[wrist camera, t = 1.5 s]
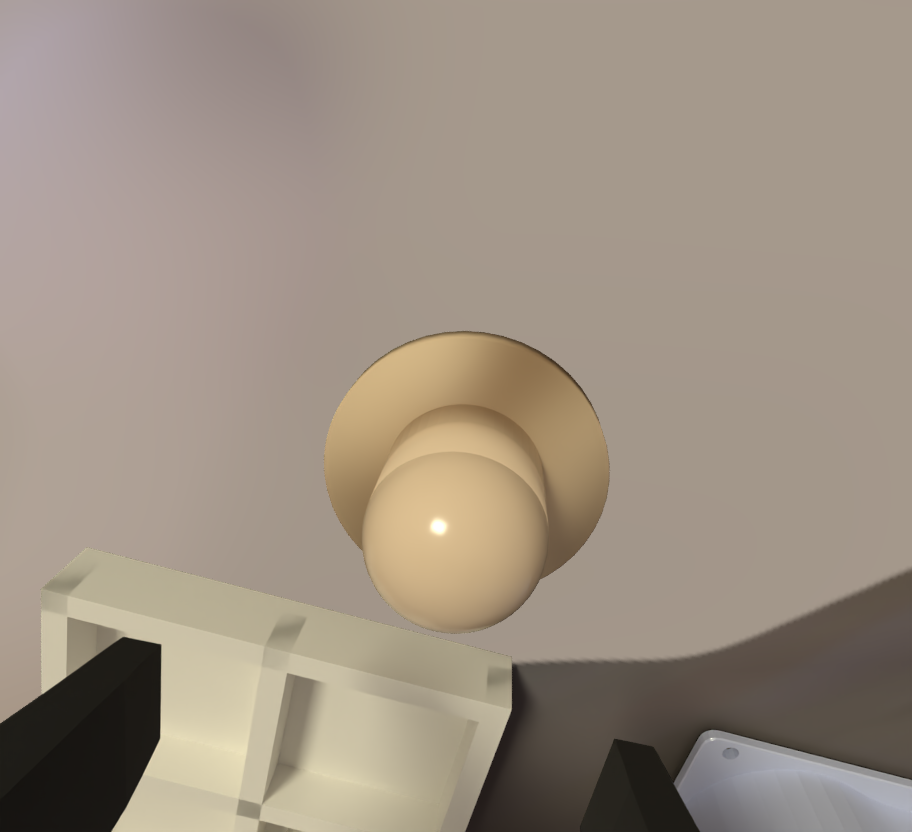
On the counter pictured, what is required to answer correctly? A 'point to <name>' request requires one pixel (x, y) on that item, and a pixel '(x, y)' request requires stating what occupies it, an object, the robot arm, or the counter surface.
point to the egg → (458, 520)
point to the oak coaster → (482, 384)
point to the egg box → (284, 705)
